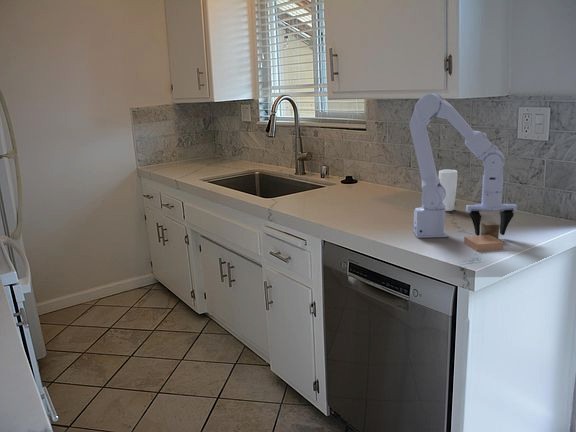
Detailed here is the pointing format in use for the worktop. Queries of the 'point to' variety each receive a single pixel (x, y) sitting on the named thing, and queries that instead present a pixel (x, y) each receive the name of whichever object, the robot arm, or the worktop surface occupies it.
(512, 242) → the worktop surface
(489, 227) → the walnut block
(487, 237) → the terracotta tile
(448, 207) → the drinking glass
